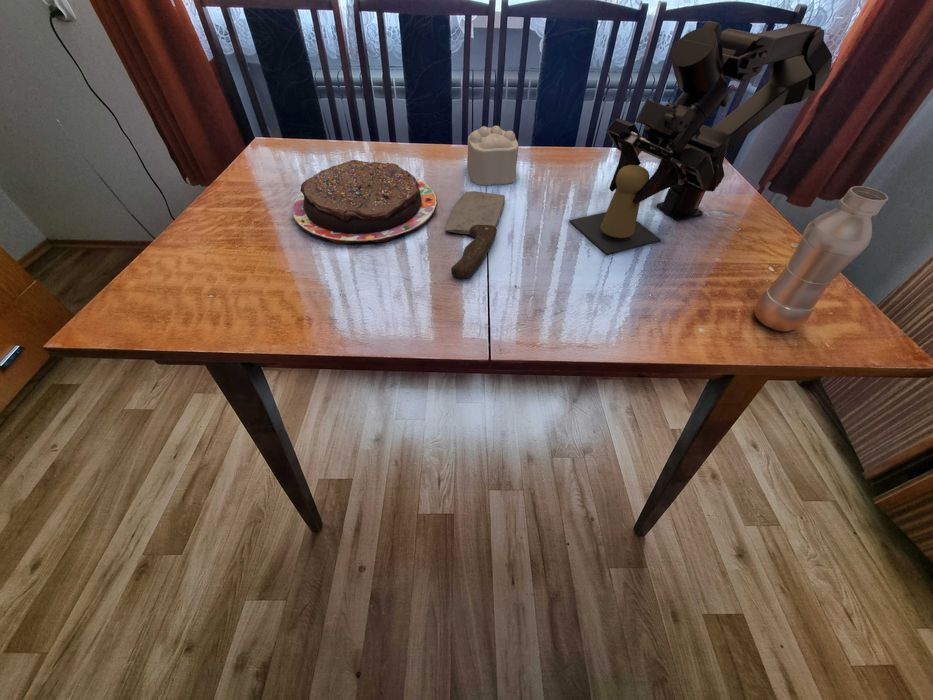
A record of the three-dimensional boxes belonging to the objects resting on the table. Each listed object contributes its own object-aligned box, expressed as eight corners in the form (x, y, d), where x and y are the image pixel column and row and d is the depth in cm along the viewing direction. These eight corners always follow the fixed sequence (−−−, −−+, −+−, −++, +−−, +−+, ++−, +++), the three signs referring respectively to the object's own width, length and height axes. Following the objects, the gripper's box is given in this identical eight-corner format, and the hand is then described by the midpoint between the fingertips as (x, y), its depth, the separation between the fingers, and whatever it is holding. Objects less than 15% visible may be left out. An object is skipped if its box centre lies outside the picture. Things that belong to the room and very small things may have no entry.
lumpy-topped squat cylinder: (472, 185, 90) (473, 144, 84) (463, 160, 99) (463, 121, 93) (519, 183, 92) (523, 141, 85) (506, 158, 100) (509, 119, 94)
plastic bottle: (796, 343, 59) (907, 213, 45) (745, 325, 62) (834, 197, 47) (799, 317, 63) (903, 190, 48) (750, 301, 65) (835, 175, 51)
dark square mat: (620, 210, 84) (620, 208, 84) (660, 241, 77) (661, 239, 76) (569, 221, 81) (569, 220, 81) (606, 255, 73) (606, 253, 73)
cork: (641, 230, 76) (662, 169, 67) (620, 241, 73) (639, 180, 65) (614, 216, 79) (631, 157, 71) (593, 226, 76) (608, 166, 68)
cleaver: (483, 283, 67) (483, 272, 66) (424, 275, 68) (423, 264, 67) (506, 198, 87) (507, 188, 86) (460, 193, 88) (460, 183, 87)
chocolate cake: (465, 204, 85) (465, 172, 80) (358, 266, 70) (351, 232, 65) (372, 164, 97) (368, 134, 92) (264, 211, 82) (252, 178, 77)
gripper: (630, 61, 65) (565, 149, 70) (739, 94, 55) (654, 196, 59) (648, 107, 74) (589, 183, 78) (744, 143, 64) (670, 229, 68)
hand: (621, 196), depth 71 cm, fingers closed on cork, 5 cm apart
